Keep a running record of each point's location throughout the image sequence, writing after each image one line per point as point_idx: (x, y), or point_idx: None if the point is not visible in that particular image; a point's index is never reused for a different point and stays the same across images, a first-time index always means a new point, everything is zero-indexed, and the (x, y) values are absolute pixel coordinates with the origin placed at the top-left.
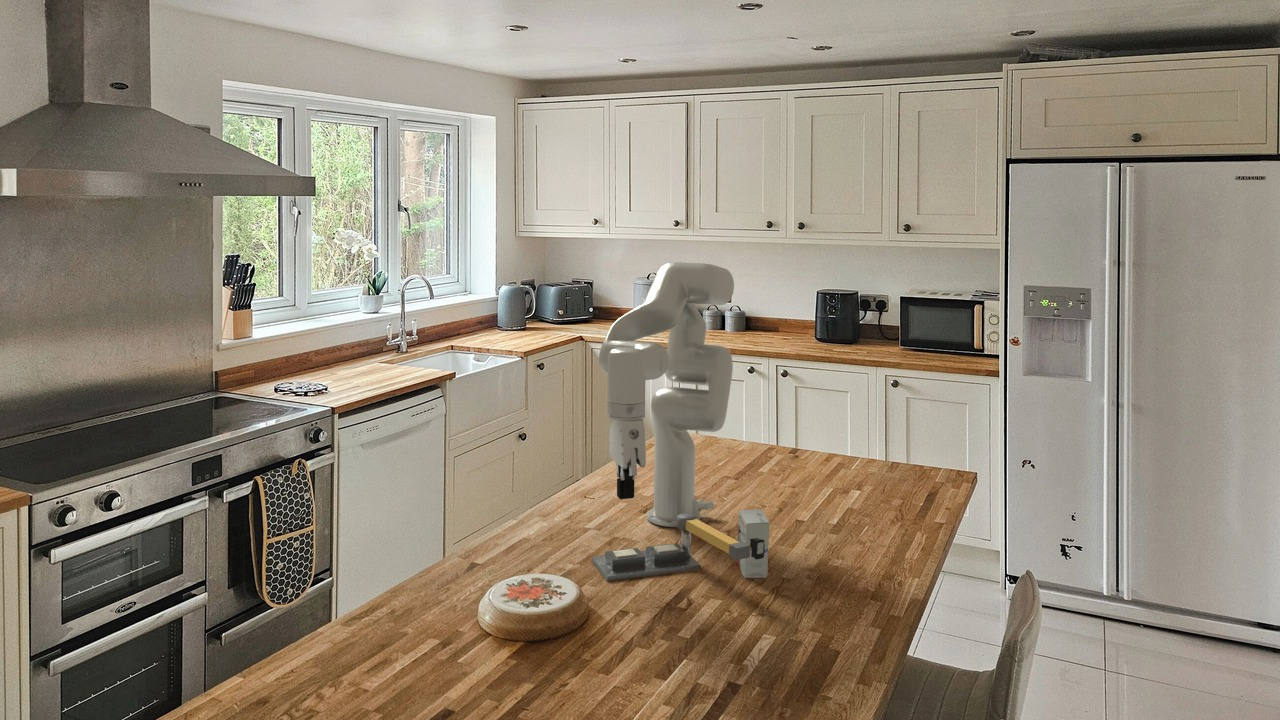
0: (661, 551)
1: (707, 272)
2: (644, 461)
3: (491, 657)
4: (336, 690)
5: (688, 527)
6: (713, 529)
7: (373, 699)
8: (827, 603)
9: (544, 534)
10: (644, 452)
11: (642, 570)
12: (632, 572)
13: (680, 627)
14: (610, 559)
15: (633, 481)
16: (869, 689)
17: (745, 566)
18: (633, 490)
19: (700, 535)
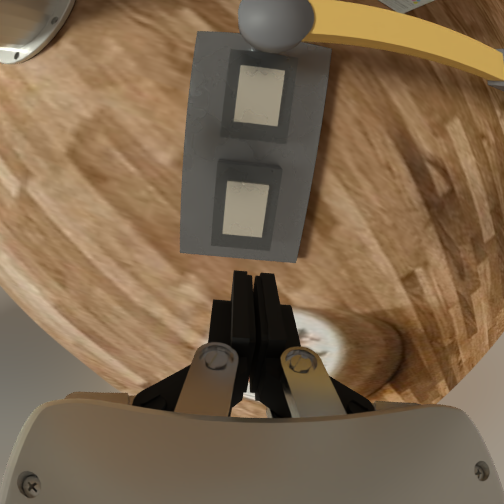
0: (278, 118)
1: None
2: (479, 443)
3: None
4: None
5: (321, 39)
6: (417, 23)
7: None
8: (499, 13)
9: (41, 275)
10: (500, 498)
11: (302, 183)
12: (302, 209)
13: (478, 229)
14: (254, 248)
15: (284, 334)
16: None
17: (414, 8)
18: (276, 296)
19: (387, 49)
